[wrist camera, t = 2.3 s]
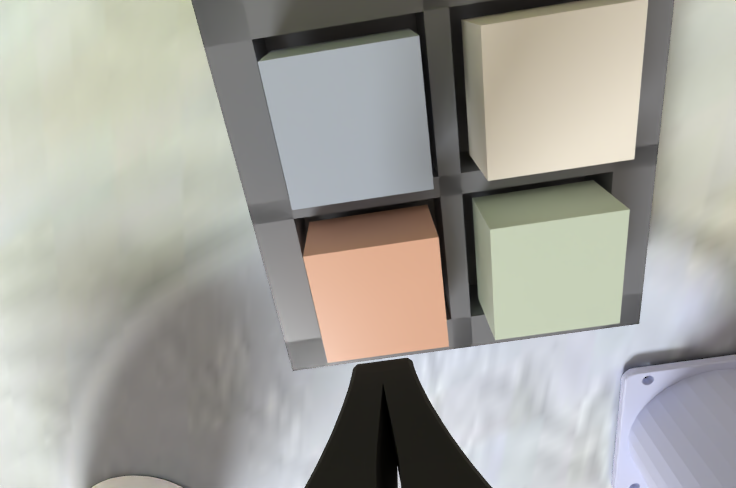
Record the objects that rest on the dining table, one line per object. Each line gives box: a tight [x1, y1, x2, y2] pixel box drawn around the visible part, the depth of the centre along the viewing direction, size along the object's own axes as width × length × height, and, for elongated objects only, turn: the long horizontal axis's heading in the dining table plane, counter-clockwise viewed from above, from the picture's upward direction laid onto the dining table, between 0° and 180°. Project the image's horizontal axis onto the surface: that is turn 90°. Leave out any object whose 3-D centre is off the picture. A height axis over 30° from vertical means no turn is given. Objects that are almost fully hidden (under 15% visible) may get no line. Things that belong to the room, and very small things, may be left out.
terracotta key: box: [303, 205, 449, 363], centre depth 17 cm, size 4×4×2 cm
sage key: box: [472, 180, 630, 340], centre depth 17 cm, size 4×4×2 cm
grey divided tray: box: [191, 0, 674, 371], centre depth 17 cm, size 13×13×2 cm
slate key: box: [258, 28, 434, 210], centre depth 15 cm, size 4×4×2 cm
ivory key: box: [461, 0, 648, 181], centre depth 14 cm, size 4×4×2 cm
